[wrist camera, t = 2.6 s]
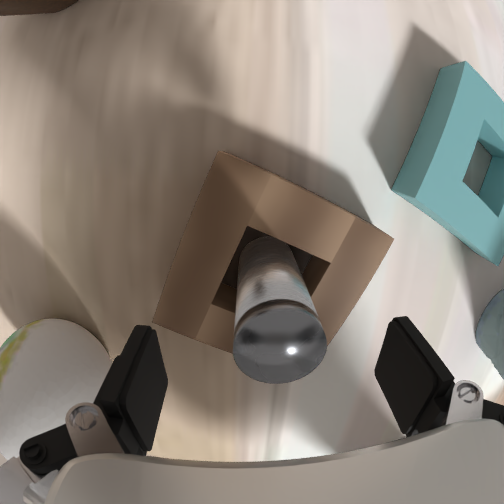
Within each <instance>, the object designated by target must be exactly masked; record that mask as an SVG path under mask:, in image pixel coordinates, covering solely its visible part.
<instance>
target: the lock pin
mask: <svg viewBox="0 0 504 504" xmlns="http://www.w3.org/2000/svg"><path fill="white" fill-rule="evenodd" d="M326 348H327V339H326V335H325V332H324V330H323V327H322V325H321V322H320V320H319V317H318V315H317V312H316V310H315V307H314V305H313V302H312V300H311V297H310V295H309V292H308V290H307V287H306V285H305V282H304V280H303V277H302V275H301V272H300V270H299V268H298V265H297V263H296V260H295V258H294V256H293V253H292V251H291V249H290V248H289V246H288V245H287V244H286V243H285V242H283V241H281V240H279V239H277V238H274V237H260V238H257V239H255V240H253V241H251V242H250V243H248V244H247V245H246V246H245V248H244V249H243V250H242V252H241V255H240V258H239V270H238V283H237V297H236V311H235V325H234V339H233V356H234V360H235V362H236V364H237V366H238V367H239V369H240V370H241V371H242V372H243V373H245V374H246V375H247V376H249V377H251V378H253V379H255V380H257V381H260V382H265V383H274V384H278V383H287V382H291V381H295V380H298V379H300V378H302V377H304V376H306V375H308V374H309V373H310V372H312V371H313V370H314V369H315V368H316V367H317V366H318V365H319V364H320V362H321V361H322V359H323V357H324V355H325V353H326Z"/></svg>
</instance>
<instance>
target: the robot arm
mask: <svg viewBox="0 0 504 504" xmlns="http://www.w3.org/2000/svg"><path fill="white" fill-rule="evenodd" d="M375 377H376V379H377V381H378V383H379V385H380V387H381V389H382V391H383V393H384V395H385V397H386V400H387V402H388V404H389V406H390V408H391V410H392V412H393V414H394V417H395V419H396V421H397V423H398V425H399V428H400V430H401V432H402V433H403V434H406V436H407V437H406V438H403V439H399V440H396V441H392V442H388V443H385V444H381V445H377V446H372V447H368V448H363V449H359V450H354V451H348V452H343V453H337V454H331V455H325V456H318V457H310V458H301V459H291V460H278V461H260V462H213V461H195V460H180V459H169V458H160V457H152V456H146V453H147V451H151V449H152V446H153V441H154V437H155V433H156V429H157V425H158V421H159V417H160V413H161V409H162V405H163V401H164V397H165V393H166V390H167V385H168V378H167V374H166V370H165V367H164V363H163V359H162V355H161V351H160V346H159V342H158V338H157V333H156V331H155V330H152V328H151V326H144V325H136V326H135V327H134V329H133V331H132V333H131V335H130V337H129V339H128V341H127V343H126V345H125V347H124V349H123V351H122V353H121V355H120V356H117V357H116V358H115V359H114V361H113V363H112V365H111V367H110V369H109V371H108V373H107V375H106V377H105V379H104V381H103V383H102V385H101V387H100V390H99V392H98V394H97V396H96V398H95V400H94V402H93V403H89V402H83V403H78V404H76V405H74V406H73V407H72V408H70V409H69V411H68V412H67V414H66V418H65V422H66V424H63V425H61V426H59V427H56V428H54V429H52V430H49V431H47V432H44V433H42V434H39V435H37V436H34V437H32V438H29V439H27V440H26V441H25V442H24V443H23V444H22V445H21V447H20V451H19V457H18V458H16V457H15V456H13V457H12V458H11V459H9V460H8V461H7V462H6V463H4V464H3V465H1V466H0V504H504V406H503V405H500V404H497V403H494V402H491V401H488V400H485V399H483V392H482V390H481V388H480V387H479V386H478V385H477V384H476V383H474V382H472V381H468V380H462V381H459V382H457V383H456V384H455V383H454V381H453V380H454V377H453V375H452V374H451V372H450V371H449V370H448V368H447V367H446V366H445V364H444V363H443V362H442V360H441V359H440V358H439V356H438V355H437V354H436V352H435V351H434V350H433V348H432V347H431V346H430V344H429V343H428V342H427V341H426V339H425V338H424V337H423V335H422V334H421V333H420V332H419V330H418V329H417V328H416V327H415V325H414V324H413V323H412V322H411V320H410V319H409V318H408V317H407V316H403V317H395V318H393V320H392V321H391V322H389V324H388V328H387V331H386V335H385V338H384V342H383V345H382V348H381V351H380V355H379V358H378V361H377V364H376V367H375Z"/></svg>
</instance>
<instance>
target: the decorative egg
mask: <svg viewBox="0 0 504 504" xmlns="http://www.w3.org/2000/svg"><path fill="white" fill-rule="evenodd" d="M111 365H112V361H111V359H110V357H109V355H108V353H107V351H106V349H105V348H104V347H103V345H102V344H101V343H100V342H99V340H98V339H97V338H96V337H95V336H93V335H92V334H91V333H90V332H89V331H88V330H86V329H85V328H83V327H82V326H80V325H78V324H76V323H74V322H71V321H67V320H63V319H42V320H37V321H34V322H31V323H29V324H26V325H25V326H23V327H21V328H20V329H18V330H17V331H15V332H14V333H13V334H12V335H11V336H10V337H9V338H8V339H7V340H6V341H5V342H4V343H3V345H2V346H1V347H0V453H1V454H2V455H3V456H4V457H5V458H6V459H7V460H9V459H11V458H12V457H13V456H15V457H16V458H18V457H19V451H20V447H21V445H22V444H23V443H24V442H25V441H26V440H27V439H29V438H32V437H34V436H37V435H39V434H42V433H44V432H47V431H49V430H52V429H54V428H56V427H59V426H61V425H63V424H66V422H65V418H66V414H67V412H68V411H69V409H70V408H72V407H73V406H74V405H76V404H78V403H83V402H89V403H93V402H94V400H95V398H96V396H97V394H98V392H99V390H100V387H101V385H102V383H103V381H104V379H105V377H106V375H107V373H108V371H109V369H110V367H111Z"/></svg>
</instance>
